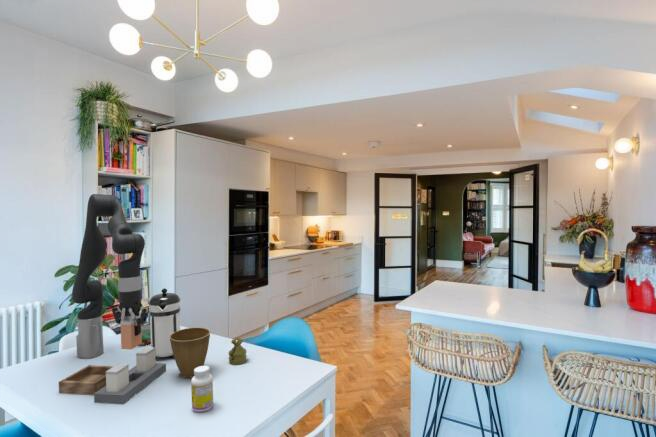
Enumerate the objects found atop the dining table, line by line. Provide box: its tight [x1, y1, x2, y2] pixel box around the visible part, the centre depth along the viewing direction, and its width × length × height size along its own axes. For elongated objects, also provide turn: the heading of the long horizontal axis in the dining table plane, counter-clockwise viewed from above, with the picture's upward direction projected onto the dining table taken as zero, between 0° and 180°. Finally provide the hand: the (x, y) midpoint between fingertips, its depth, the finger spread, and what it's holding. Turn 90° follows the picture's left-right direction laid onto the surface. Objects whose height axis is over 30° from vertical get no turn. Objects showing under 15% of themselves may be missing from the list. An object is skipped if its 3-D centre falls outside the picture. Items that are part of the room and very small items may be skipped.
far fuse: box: [135, 346, 157, 372], centre depth 145 cm, size 6×4×10 cm, turn 173°
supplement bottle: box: [190, 365, 214, 413], centre depth 120 cm, size 7×7×13 cm
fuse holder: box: [93, 362, 167, 405], centre depth 137 cm, size 25×11×3 cm, turn 173°
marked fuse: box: [120, 317, 142, 351], centre depth 136 cm, size 6×4×10 cm, turn 173°
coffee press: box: [148, 288, 181, 360], centre depth 165 cm, size 17×16×30 cm
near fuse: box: [106, 363, 130, 393], centre depth 129 cm, size 6×4×10 cm, turn 173°
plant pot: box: [170, 326, 211, 379], centre depth 145 cm, size 15×15×16 cm
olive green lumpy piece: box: [228, 336, 248, 366], centre depth 156 cm, size 7×7×10 cm
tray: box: [58, 364, 115, 396], centre depth 138 cm, size 14×14×4 cm
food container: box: [138, 321, 151, 347], centre depth 180 cm, size 12×6×10 cm, turn 168°
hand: (131, 334), depth 136 cm, fingers closed on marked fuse, 4 cm apart
